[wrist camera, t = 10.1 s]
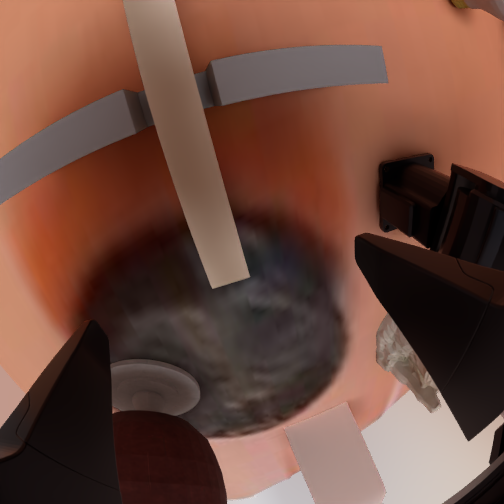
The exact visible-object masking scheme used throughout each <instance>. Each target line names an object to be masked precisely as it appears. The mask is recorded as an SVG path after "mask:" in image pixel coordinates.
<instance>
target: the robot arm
mask: <svg viewBox="0 0 504 504" xmlns="http://www.w3.org/2000/svg"><path fill="white" fill-rule="evenodd" d="M385 167H386V170H384V169H385ZM379 173H380V228H381V230H382V231H383V232H385V233H386V232H389V231H392V230H395V229H399V230H400V231H401V232H403V233H404V234H405V235H407V236H408V237H413V238H414V239H416V240H417V241H418V242H419V243H421V244H422V245H423V246H425V247H426V248H430V250H428V249H424V248H421V247H417V246H414V245H410V244H407V243H403V242H399V241H396V240H392V239H389V238H385V237H381V236H377V235H374V234H370V233H363V234H360V235H357V236H356V237H355V260H356V263H357V265H358V266H359V268H360V270H361V271H362V273H363V275H364V276H365V278H366V280H367V282H368V283H369V285H370V287H371V288H372V290H373V292H374V294H375V295H376V297H377V298H378V300H379V301H380V303H381V304H382V305H383V307H384V308H385V310H386V311H387V312H388V314H389V315H390V317H391V318H392V319H393V321H394V322H395V324H396V325H397V327H398V328H399V329H400V331H401V332H402V334H403V335H404V337H405V338H406V340H407V341H408V343H409V344H410V346H411V347H412V349H413V350H414V352H415V353H416V355H417V356H418V358H419V359H420V361H421V362H422V364H423V365H424V367H425V369H426V370H427V372H428V373H429V375H430V376H431V378H432V380H433V381H434V383H435V385H436V386H437V388H438V389H439V391H440V393H441V395H442V396H443V398H444V400H445V401H446V403H447V405H448V406H449V408H450V410H451V412H452V414H453V415H454V417H455V419H456V420H457V422H458V424H459V426H460V428H461V430H462V431H463V433H464V435H465V437H466V439H467V440H468V441H470V440H471V439H472V438H474V437H475V436H476V435H477V434H479V433H480V432H481V431H482V430H483V429H484V428H486V427H487V426H488V425H489V424H490V423H491V422H492V421H494V420H495V419H496V418H497V417H498V416H499V415H500V414H501V415H502V417H503V418H504V183H503V182H502V181H500V180H497V179H495V178H493V177H491V176H489V175H487V174H484V173H482V172H479V171H476V170H473V169H470V168H467V167H464V166H460V165H457V164H453V163H452V165H451V176H450V177H449V176H447V175H444V174H442V173H440V172H438V171H436V170H434V157H433V155H432V154H429V153H427V154H421V155H416V156H411V157H406V158H401V159H396V160H391V161H386V162H383V163H381V164H380V167H379ZM386 225H387V226H386ZM385 227H386V228H385ZM489 463H490V466H489V467H488V468H487V469H486V470H484V471H483V472H482V473H481V474H480V475H479V476H478V477H476V478H475V479H474V480H473V481H472V482H471V483H469V484H468V485H467V486H465V487H464V488H463V489H462V490H461V491H459V492H458V493H456V494H455V495H454V496H452V497H451V498H450V499H448V500H447V501H445V502H444V503H443V504H504V423H503V424H502V425H501V426H500V427H499V428H498V429H497V430H496V431H495V435H494V441H493V446H492V451H491V456H490V460H489ZM0 504H123V503H122V497H121V492H120V486H119V480H118V472H117V465H116V456H115V445H114V433H113V415H112V378H111V366H110V352H109V340H108V337H107V335H106V334H105V332H104V331H103V330H102V328H101V327H100V326H99V324H98V323H97V322H96V321H95V320H93V319H91V320H88V321H84V322H83V323H82V324H81V325H80V326H79V328H78V329H77V330H76V331H75V332H74V334H73V335H72V336H71V337H70V338H69V339H68V341H67V342H66V343H65V344H64V346H63V347H62V348H61V349H60V350H59V352H58V353H57V354H56V355H55V357H54V358H53V359H52V360H51V362H50V363H49V364H48V366H47V367H46V368H45V369H44V371H43V372H42V373H41V375H40V376H39V377H38V379H37V380H36V381H35V383H34V384H33V385H32V387H31V388H30V389H29V391H28V392H27V393H26V395H25V396H24V398H23V399H22V400H21V402H20V403H19V405H18V406H17V407H16V409H15V410H14V411H13V413H12V414H11V415H10V416H9V418H8V419H7V420H6V422H5V423H4V424H3V426H2V427H1V428H0Z"/></svg>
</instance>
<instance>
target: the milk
mask: <svg viewBox="0 0 504 504" xmlns="http://www.w3.org/2000/svg"><path fill="white" fill-rule="evenodd" d="M284 430H285V432H286V435H287V437H288V440H289V442H290V445H291V447H292V450H293V452H294V455H295V457H296V460H297V462H298V464H299V467H300V469H301V471H302V474H303V476H304V478H305V481H306V483H307V486H308V488H309V490H310V493H311V495H312V497H313V500H314V502H315V504H381V503H382V501H383V498H384V496H385V494H386V490H385V487H384V484H383V482H382V479H381V477H380V475H379V473H378V470H377V468H376V466H375V464H374V461H373V459H372V457H371V454H370V452H369V450H368V448H367V446H366V443H365V441H364V439H363V436H362V434H361V432H360V430H359V428H358V425H357V423H356V421H355V419H354V417H353V414H352V412H351V410H350V408H349V406H348V404H347V401H346V402H344V403H342V404H340V405H337V406H335V407H333V408H331V409H329V410H326V411H324V412H322V413H320V414H317V415H315V416H313V417H310V418H308V419H305V420H303V421H300V422H298V423H295V424H292V425H290V426H287V427H284Z"/></svg>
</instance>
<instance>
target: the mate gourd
mask: <svg viewBox="0 0 504 504" xmlns="http://www.w3.org/2000/svg"><path fill="white" fill-rule="evenodd" d="M110 366H111V378H112V406H114V407H115V408H117V409H119V410H121V411H120V412H116V413H113V414H112V415H113V433H114V445H115V456H116V465H117V472H118V480H119V486H120V492H121V497H122V503H123V504H227V495H226V489H225V485H224V480H223V476H222V472H221V469H220V466H219V464H218V461H217V459H216V456H215V454H214V452H213V450H212V448H211V446H210V444H209V442H208V440H207V439H206V438H205V437H204V436H203V435H202V434H201V433H199V432H198V431H197V430H196V429H195V428H194V427H193V426H192V425H191V424H190V423H189V422H187V421H185V420H184V419H181V418H179V417H177V416H176V415H180V414H183V413H185V412H187V411H189V410H190V409H192V408H193V407H194V406H195V405H196V404H197V403H198V401H199V399H200V388H199V385H198V382H197V381H196V380H195V378H194V377H193V376H192V375H190V374H189V373H188V372H186V371H184V370H183V369H181V368H179V367H176V366H174V365H171V364H168V363H164V362H161V361H155V360H149V359H129V360H122V361H118V362H115V363H112V364H110Z"/></svg>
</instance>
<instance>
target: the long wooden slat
mask: <svg viewBox="0 0 504 504" xmlns="http://www.w3.org/2000/svg"><path fill="white" fill-rule="evenodd" d="M123 4H124V8H125V13H126V18H127V22H128V26H129V31H130V35H131V39H132V43H133V47H134V51H135V55H136V59H137V63H138V67H139V71H140V74H141V78H142V82H143V85H144V89H145V93H146V96H147V100H148V103H149V107H150V110H151V113H152V117H153V120H154V123H155V127H156V130H157V133H158V137H159V140H160V143H161V146H162V149H163V152H164V156H165V159H166V162H167V165H168V168H169V171H170V174H171V177H172V180H173V183H174V186H175V189H176V192H177V195H178V197H179V200H180V203H181V206H182V209H183V212H184V215H185V217H186V220H187V223H188V226H189V228H190V231H191V234H192V237H193V239H194V242H195V245H196V247H197V250H198V253H199V255H200V258H201V261H202V263H203V266H204V269H205V271H206V274H207V276H208V279H209V281H210V284H211V286H212V289H213V288H216V287H220V286H223V285H226V284H229V283H233V282H236V281H239V280H242V279H245V278H248V277H250V276H249V272H248V269H247V265H246V262H245V258H244V254H243V251H242V247H241V244H240V240H239V237H238V233H237V230H236V226H235V223H234V219H233V215H232V212H231V208H230V205H229V201H228V198H227V194H226V190H225V187H224V183H223V180H222V176H221V172H220V169H219V165H218V161H217V158H216V154H215V151H214V147H213V143H212V140H211V136H210V132H209V129H208V125H207V121H206V118H205V114H204V110H203V106H202V103H201V99H200V95H199V92H198V88H197V84H196V80H195V77H194V73H193V69H192V65H191V61H190V58H189V54H188V50H187V46H186V42H185V39H184V35H183V31H182V27H181V23H180V19H179V15H178V12H177V8H176V4H175V0H123Z"/></svg>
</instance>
